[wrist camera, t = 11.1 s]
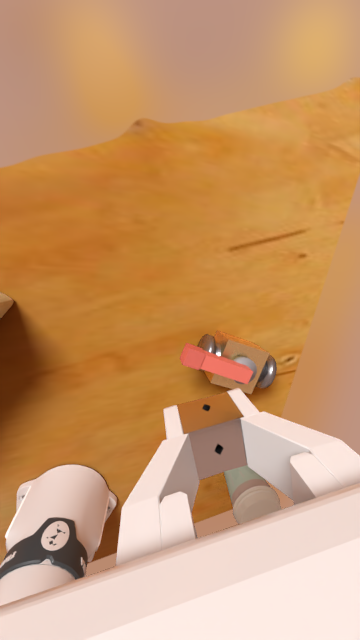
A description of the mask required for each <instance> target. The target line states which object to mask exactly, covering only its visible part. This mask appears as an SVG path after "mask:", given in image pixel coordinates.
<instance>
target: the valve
mask: <svg viewBox="0 0 360 640" xmlns="http://www.w3.org/2000/svg"><path fill="white" fill-rule="evenodd" d="M197 347H200V348H202V349H203V350H205V351H207V352H210V353H213V354H216V355H219V356H222V357H224V358H227V359H230V360H234V359H235V358H237V357H241V356H244V357H248V358H249V359H251V360H252V361H253V362H254V363H255V364H256V367H257V373H256V376H255V378H254V379H253V380H252V381H251V382H249V383H248V384H238V383H236V382H235V381H234V380H233V379H230V378H227V377H224V376H221V375H218V374H215V373H212V372H209V371H206V370H203V369H199V370H200V371H204V373H205V374H206V376H207V378H208V379H209V381H210V383H213V384H216V385H220V386H223V387H227V388H230V389H236V388H239V389H241V390H242V392H245V393H248V394H252V392H253V390H254V387H258V388H262V389H263V388H267V387H268V386H270V385H271V383H272V382H273V380H274V378H275V375H276V362H275V359H274V358H273V357H272V356H271V355H269V354H270V353H269V352H267V351H265V350H264V349H262V348H261V347H259V346H258V345H256V344H255V343H253V342H250V341H247V340H244V339H241V338H238V337H235V336H232V335H229V334H227V333H224V332H221V331H218V330H217V331H216V334H215V336H214V337H213V336H211V335H208V334H205V335H204V336H203V337H202V338H201V340H200V342H199V344H198V346H197Z"/></svg>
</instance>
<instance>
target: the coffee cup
mask: <svg viewBox="0 0 360 640" xmlns="http://www.w3.org/2000/svg"><path fill="white" fill-rule="evenodd" d="M224 475H225V479H226V483H227V487H228V490H229V494H230V498H231V502H232V505H233V515H234V517H235V519H236V521H237V523H238V524H241V523H244V522H246V521H249V520H252V519H255V518H258V517H261V516H264V515H267V514H270V513H273V512H276V511H279V510H282V509H281V506H280V500H279V498H278V495H277V493H276V492H275V491H274V490H273V489H272V488H270V486H269V485H268V483H267V482H266V480H265V479H264V478H263V477H261V476H260V475H259V474H257V473H256V472H255V471H253V470H252V469H251V468H249V467H248V465H246V466H242V467H239V468H235V469H232V470H228V471H224Z"/></svg>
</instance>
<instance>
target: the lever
mask: <svg viewBox="0 0 360 640" xmlns="http://www.w3.org/2000/svg"><path fill="white" fill-rule="evenodd" d="M180 360H181V362H182V365H185V366H188V367H191V368H194V369H197V370H199V369H203V370H206V371H209V372H212V373H215V374H218V375H221V376H224V377H227V378H230V379H233V380H234V381H235V382H236V383H238V384H248V383H249V382H251V381H252V380H253V379H254V378H255V376H256V373H257V367H256V364H255V363H254V362H253V361H252V360H251V359H249V358H248V357H244V356H241V357H237V358H235V359H234V360H230V359H227V358H224V357H222V356H219V355H216V354H213V353H210V352H207V351H205V350H203V349H202V348H200V347H197V346H194V345H191V344H189V343H186V345H185V347H184V349H183V352H182V354H181V356H180Z"/></svg>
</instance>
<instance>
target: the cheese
mask: <svg viewBox="0 0 360 640" xmlns="http://www.w3.org/2000/svg"><path fill="white" fill-rule="evenodd" d="M13 302H14V301H13V299H11V298H10V297H9V296H7V295H5V294H3V293H1V292H0V319H1V318H2V317H3V315H4V314H5V313H6V312H7V311H8V310H9V308H10V307H11V306H12V305H13Z"/></svg>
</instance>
